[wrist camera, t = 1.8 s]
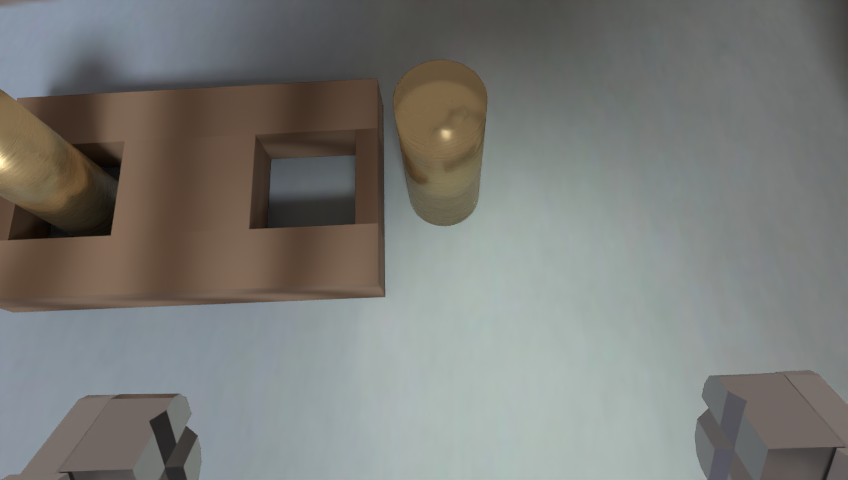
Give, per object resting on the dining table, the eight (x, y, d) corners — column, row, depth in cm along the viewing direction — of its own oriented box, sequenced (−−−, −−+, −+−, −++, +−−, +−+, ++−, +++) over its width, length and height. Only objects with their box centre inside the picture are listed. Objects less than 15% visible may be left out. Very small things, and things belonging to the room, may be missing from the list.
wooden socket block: (383, 106, 37) (377, 78, 34) (385, 296, 33) (378, 282, 30) (50, 124, 38) (17, 98, 35) (13, 312, 34) (-27, 299, 31)
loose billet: (476, 160, 36) (484, 57, 26) (480, 224, 34) (490, 139, 25) (408, 164, 36) (392, 62, 26) (410, 227, 34) (393, 144, 25)
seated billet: (135, 177, 36) (23, 83, 27) (127, 240, 35) (5, 164, 26) (71, 181, 36) (-64, 87, 27) (60, 243, 35) (-85, 168, 26)
